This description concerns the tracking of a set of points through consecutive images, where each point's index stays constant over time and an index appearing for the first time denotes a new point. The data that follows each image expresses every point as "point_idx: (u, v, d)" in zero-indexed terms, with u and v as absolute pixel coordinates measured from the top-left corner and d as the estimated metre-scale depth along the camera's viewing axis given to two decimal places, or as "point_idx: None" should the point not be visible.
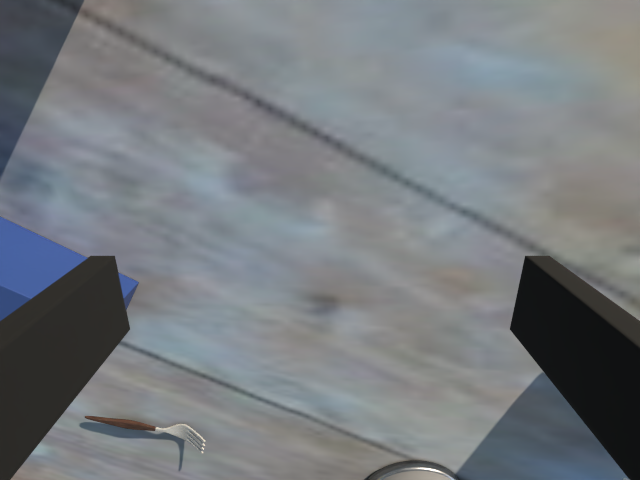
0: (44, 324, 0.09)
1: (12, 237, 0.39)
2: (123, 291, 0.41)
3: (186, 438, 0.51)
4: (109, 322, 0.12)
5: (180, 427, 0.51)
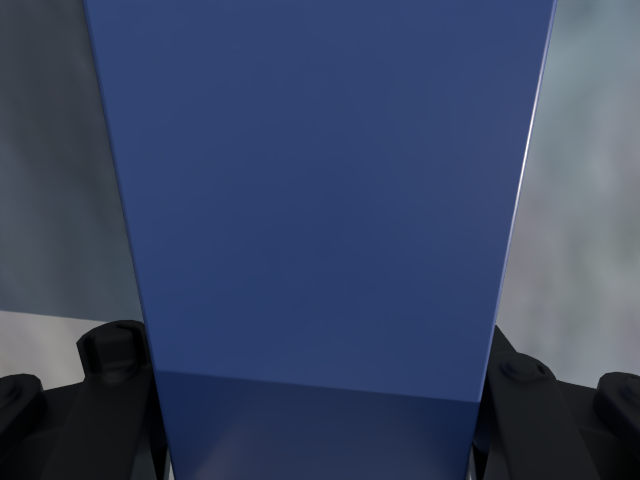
0: None
1: None
2: None
3: None
4: None
5: None
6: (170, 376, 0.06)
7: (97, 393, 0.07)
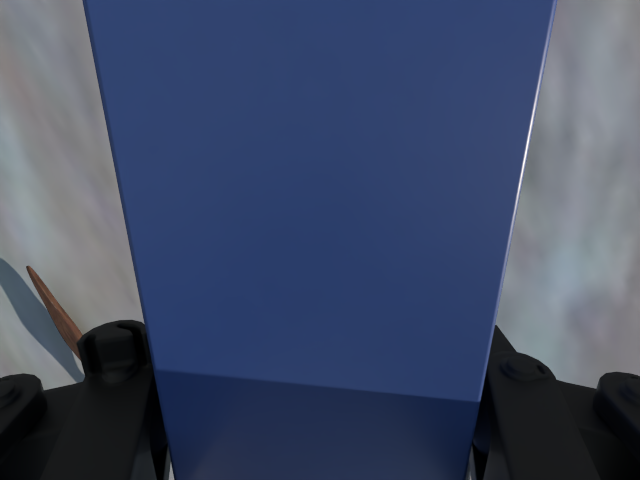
0: None
1: None
2: None
3: None
4: None
5: None
6: (170, 375, 0.06)
7: (97, 393, 0.07)
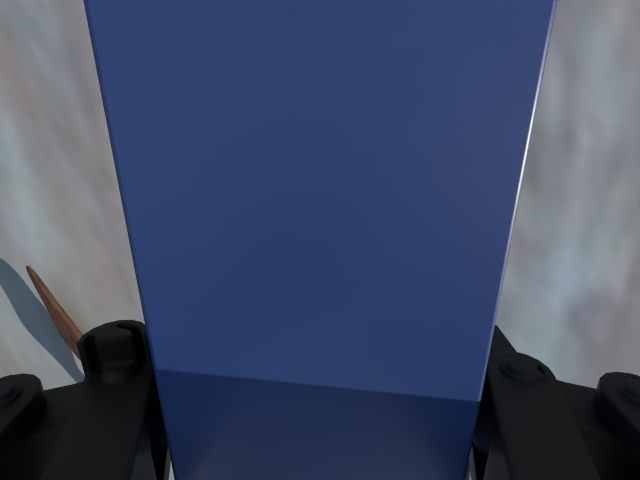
0: None
1: None
2: None
3: None
4: None
5: None
6: (170, 375, 0.06)
7: (97, 393, 0.07)
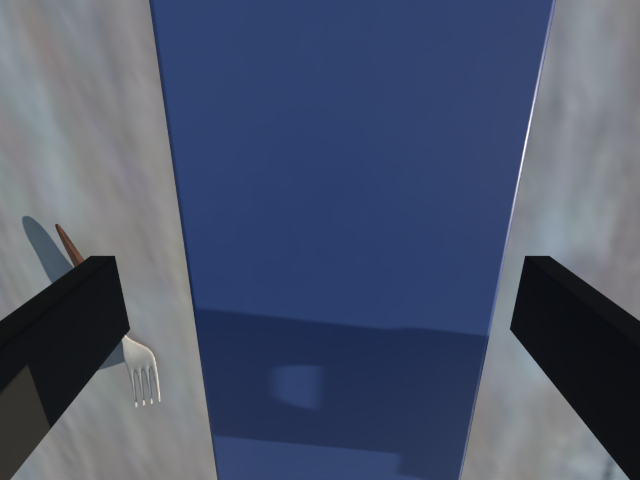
0: (44, 324, 0.09)
1: None
2: None
3: (132, 368, 0.32)
4: (109, 322, 0.12)
5: (144, 353, 0.32)
6: (201, 263, 0.06)
7: None
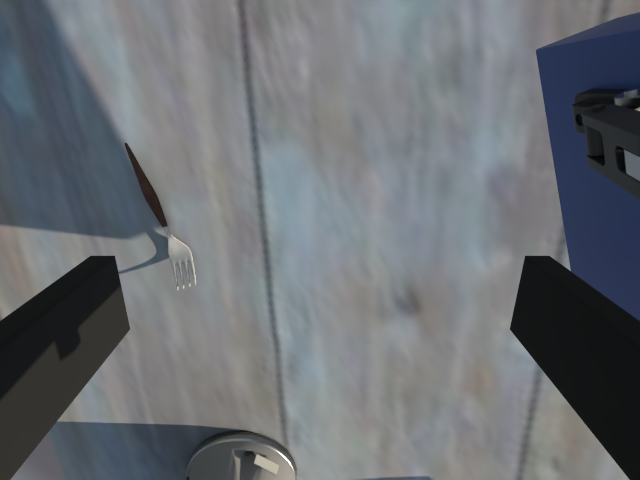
0: (44, 324, 0.09)
1: None
2: None
3: (174, 262, 0.43)
4: (109, 322, 0.12)
5: (184, 249, 0.42)
6: None
7: None
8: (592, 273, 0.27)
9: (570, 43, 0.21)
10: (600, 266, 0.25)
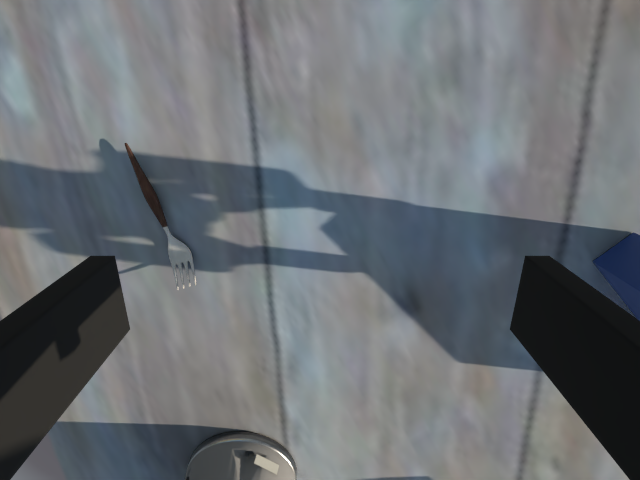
0: (44, 324, 0.09)
1: None
2: None
3: (174, 262, 0.43)
4: (109, 322, 0.12)
5: (184, 249, 0.42)
6: None
7: None
8: None
9: (615, 275, 0.40)
10: None
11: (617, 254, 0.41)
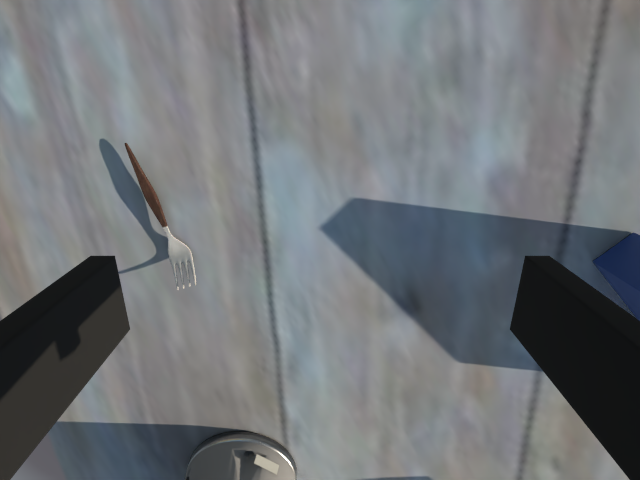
0: (44, 324, 0.09)
1: None
2: None
3: (174, 262, 0.43)
4: (109, 322, 0.12)
5: (184, 249, 0.42)
6: None
7: None
8: None
9: (615, 275, 0.40)
10: None
11: (617, 254, 0.41)
